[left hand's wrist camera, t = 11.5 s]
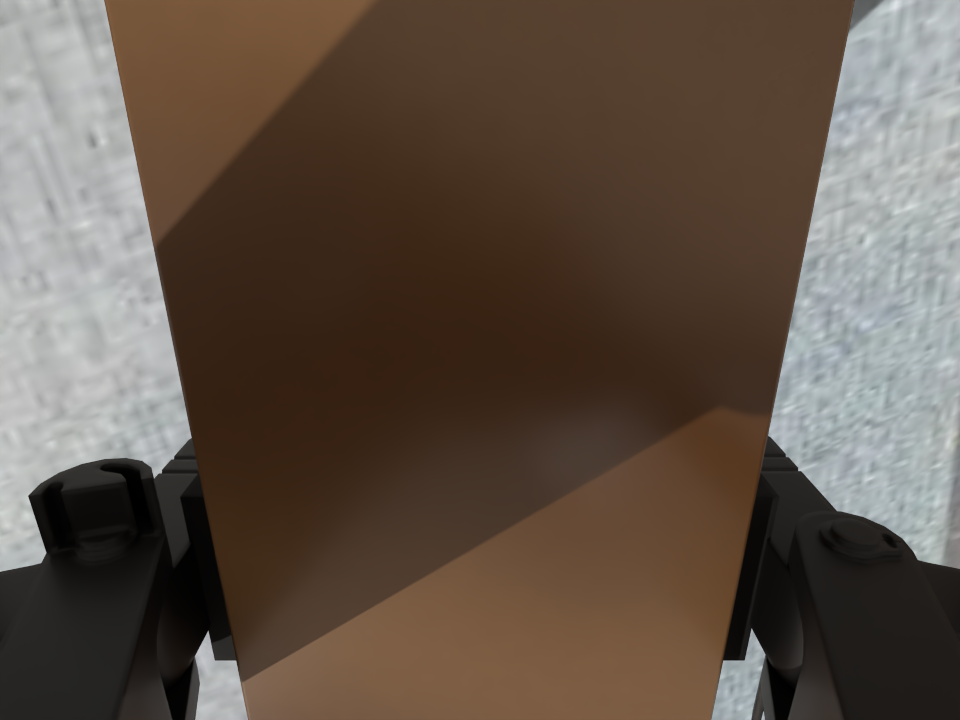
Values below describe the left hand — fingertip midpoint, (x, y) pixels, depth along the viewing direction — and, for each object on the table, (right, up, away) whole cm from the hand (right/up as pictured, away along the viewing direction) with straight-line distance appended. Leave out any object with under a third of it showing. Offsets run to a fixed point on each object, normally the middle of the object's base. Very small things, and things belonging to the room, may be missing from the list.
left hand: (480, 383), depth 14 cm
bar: (0, +14, -5) cm, 14 cm away
